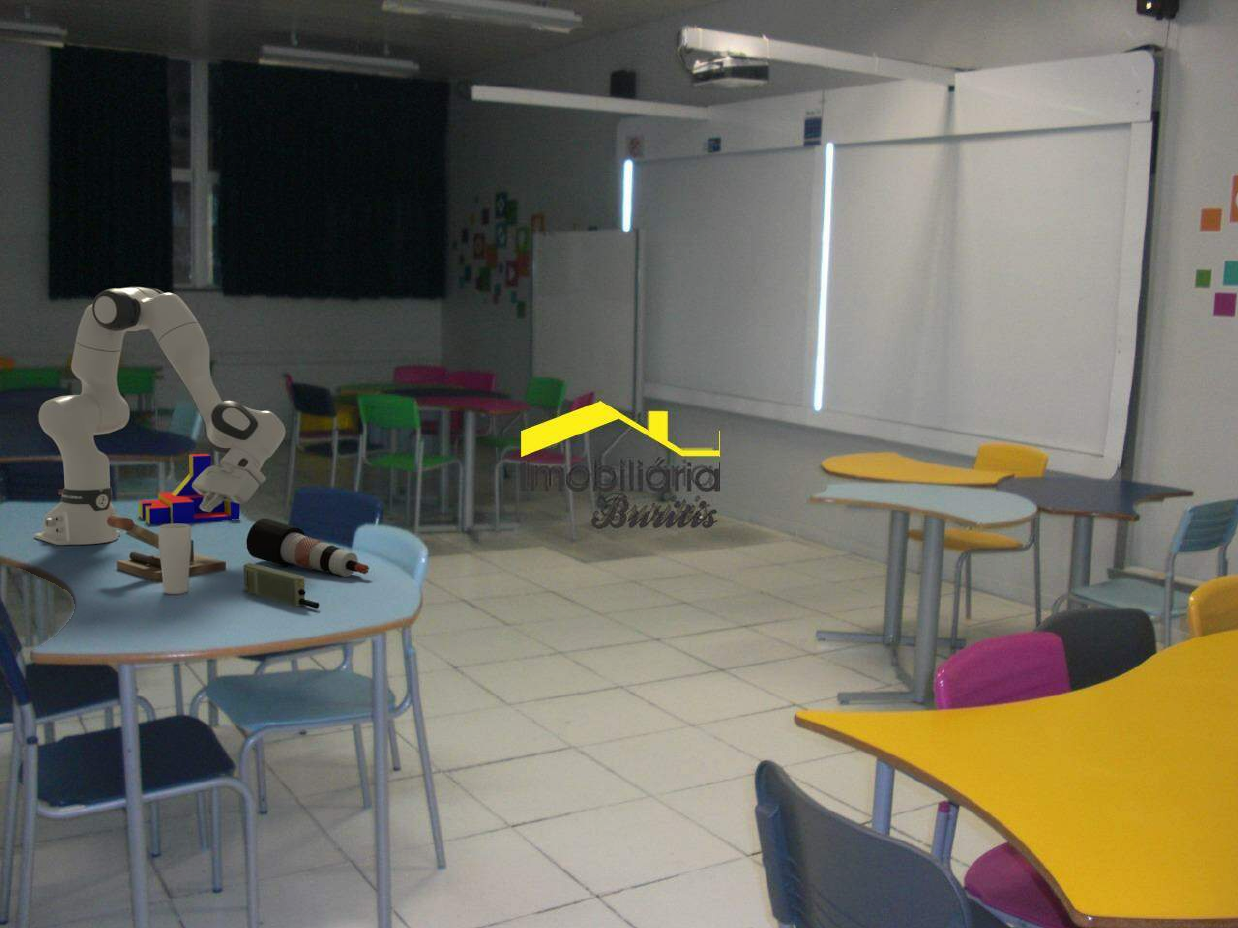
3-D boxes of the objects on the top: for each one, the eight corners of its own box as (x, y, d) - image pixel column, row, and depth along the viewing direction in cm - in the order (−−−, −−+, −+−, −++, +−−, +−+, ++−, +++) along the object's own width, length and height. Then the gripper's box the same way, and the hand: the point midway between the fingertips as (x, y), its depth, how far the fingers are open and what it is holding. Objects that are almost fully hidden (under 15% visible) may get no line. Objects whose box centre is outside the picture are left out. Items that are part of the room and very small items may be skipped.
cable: (357, 599, 285) (347, 566, 279) (253, 565, 300) (241, 533, 295) (384, 573, 292) (374, 540, 286) (281, 542, 307) (269, 510, 302)
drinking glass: (153, 594, 265) (152, 527, 263) (169, 587, 272) (167, 522, 270) (182, 596, 264) (181, 529, 262) (197, 589, 271) (196, 524, 269)
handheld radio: (254, 590, 273) (324, 610, 257) (242, 593, 270) (311, 613, 255) (253, 561, 271) (323, 579, 256) (240, 564, 269) (310, 582, 254)
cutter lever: (180, 545, 295) (110, 512, 280) (196, 549, 291) (126, 516, 276) (175, 557, 294) (104, 525, 279) (190, 561, 290) (119, 529, 275)
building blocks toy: (137, 516, 360) (136, 455, 357) (223, 510, 373) (222, 452, 371) (151, 526, 344) (149, 463, 341) (239, 520, 357) (238, 459, 355)
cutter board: (185, 558, 303) (184, 530, 302) (226, 569, 291) (225, 541, 290) (117, 568, 289) (116, 540, 288) (156, 581, 277) (156, 551, 277)
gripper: (207, 454, 306) (172, 496, 300) (254, 463, 293) (218, 507, 287) (223, 470, 310) (189, 512, 304) (270, 480, 297) (235, 523, 291)
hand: (204, 509), depth 295 cm, fingers closed
